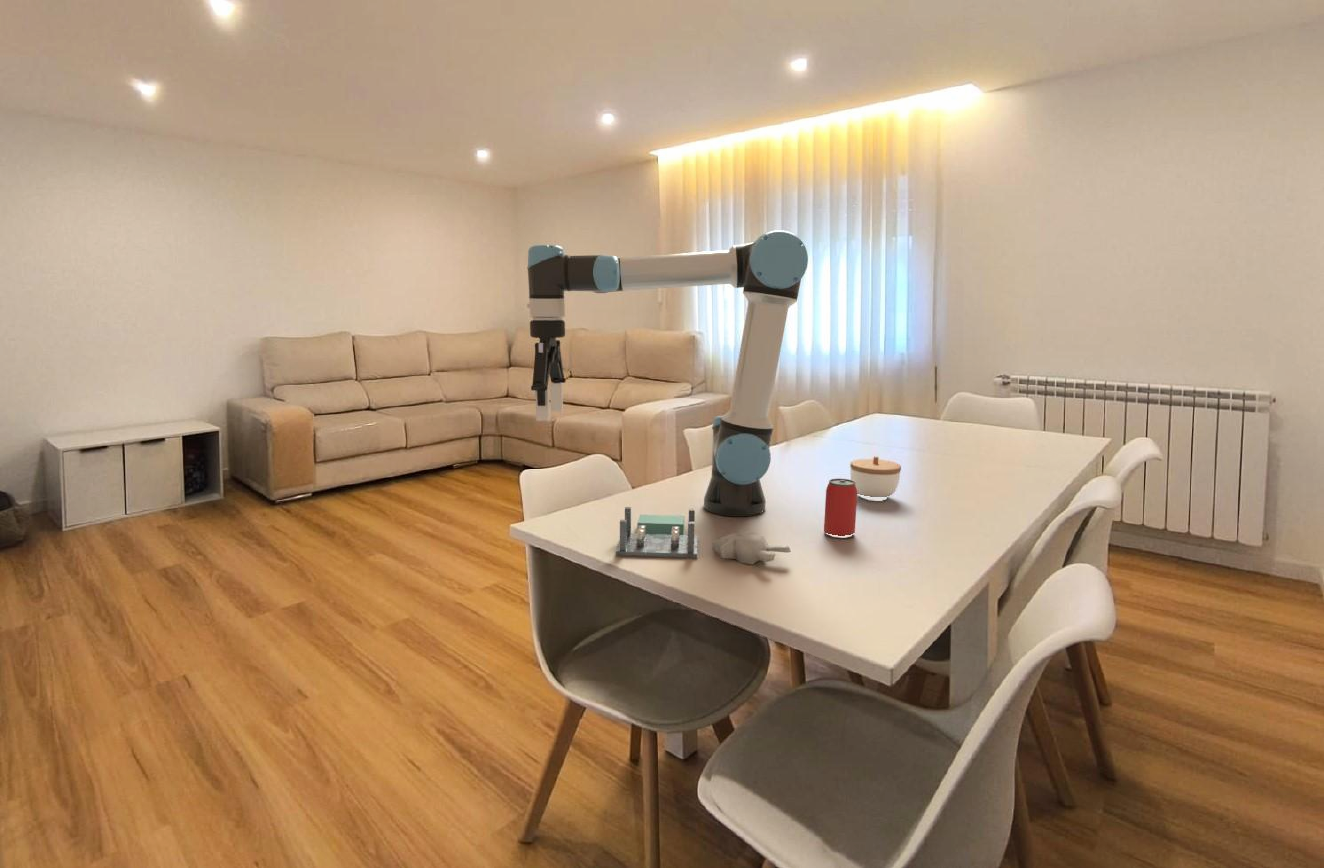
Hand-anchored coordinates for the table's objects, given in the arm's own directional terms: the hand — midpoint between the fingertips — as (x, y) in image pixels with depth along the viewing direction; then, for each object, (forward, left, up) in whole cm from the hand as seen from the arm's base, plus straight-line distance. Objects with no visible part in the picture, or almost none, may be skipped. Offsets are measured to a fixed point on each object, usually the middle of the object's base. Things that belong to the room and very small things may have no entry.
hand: (550, 415), depth 151 cm
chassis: (-25, +16, -24) cm, 38 cm away
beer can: (-64, +4, -25) cm, 69 cm away
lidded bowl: (-79, -27, -25) cm, 87 cm away
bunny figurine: (-43, +21, -25) cm, 54 cm away
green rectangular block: (-25, +5, -25) cm, 36 cm away
